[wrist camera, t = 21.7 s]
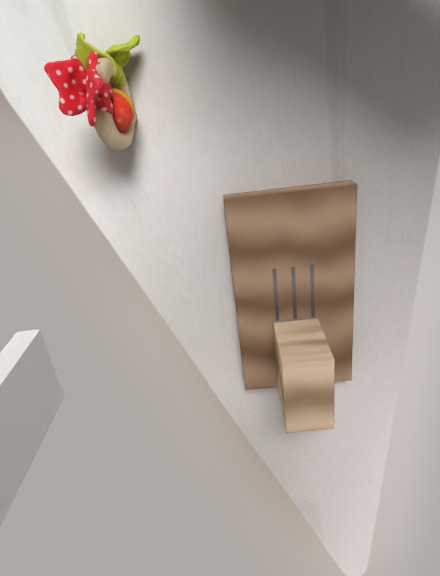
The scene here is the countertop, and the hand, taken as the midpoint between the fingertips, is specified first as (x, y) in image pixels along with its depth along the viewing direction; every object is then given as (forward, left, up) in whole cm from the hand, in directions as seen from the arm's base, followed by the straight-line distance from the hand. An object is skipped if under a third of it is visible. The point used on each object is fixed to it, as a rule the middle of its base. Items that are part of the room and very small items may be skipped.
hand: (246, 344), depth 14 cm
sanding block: (+13, +19, -30) cm, 37 cm away
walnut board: (+8, +14, -32) cm, 36 cm away
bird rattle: (0, -12, -32) cm, 34 cm away
